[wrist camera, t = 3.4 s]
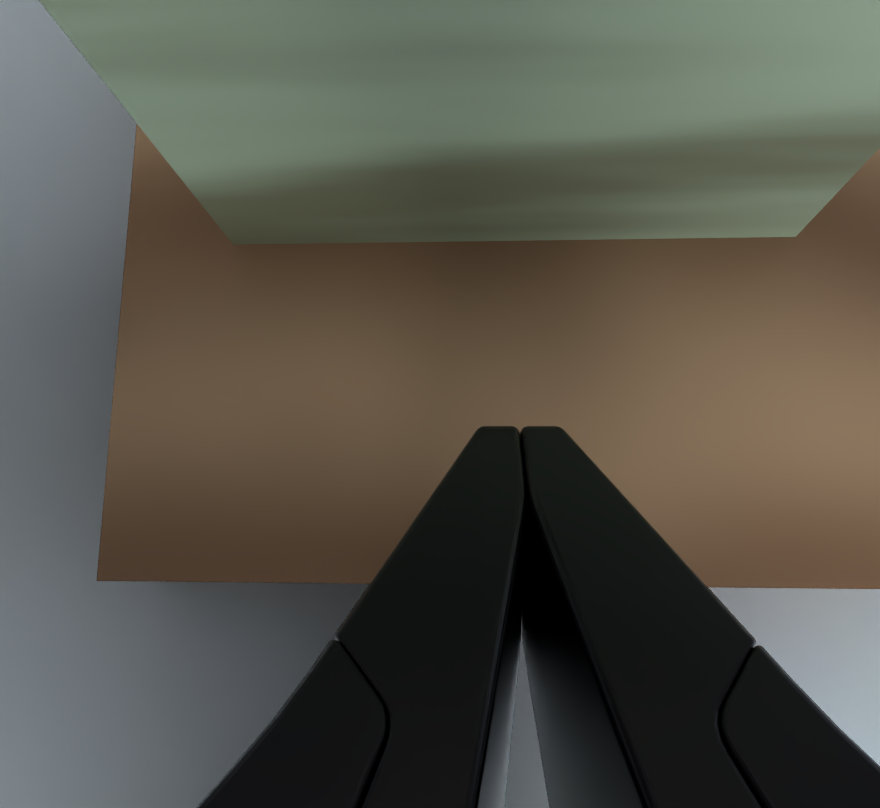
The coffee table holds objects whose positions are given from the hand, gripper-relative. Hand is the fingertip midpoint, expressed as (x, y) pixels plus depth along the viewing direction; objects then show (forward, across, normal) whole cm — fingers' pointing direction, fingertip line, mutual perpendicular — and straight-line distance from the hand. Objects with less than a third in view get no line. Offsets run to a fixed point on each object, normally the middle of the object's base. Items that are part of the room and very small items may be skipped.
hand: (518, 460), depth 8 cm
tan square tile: (+9, 0, +2) cm, 9 cm away
